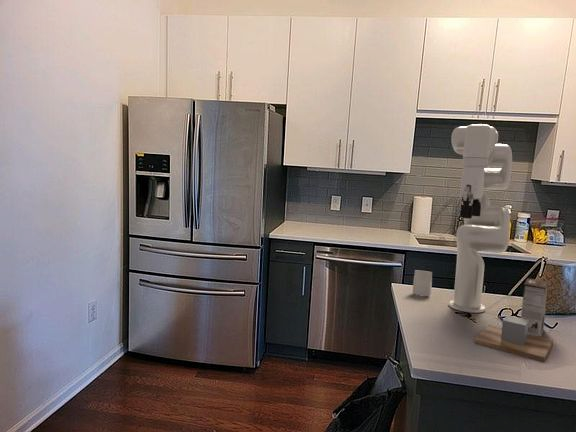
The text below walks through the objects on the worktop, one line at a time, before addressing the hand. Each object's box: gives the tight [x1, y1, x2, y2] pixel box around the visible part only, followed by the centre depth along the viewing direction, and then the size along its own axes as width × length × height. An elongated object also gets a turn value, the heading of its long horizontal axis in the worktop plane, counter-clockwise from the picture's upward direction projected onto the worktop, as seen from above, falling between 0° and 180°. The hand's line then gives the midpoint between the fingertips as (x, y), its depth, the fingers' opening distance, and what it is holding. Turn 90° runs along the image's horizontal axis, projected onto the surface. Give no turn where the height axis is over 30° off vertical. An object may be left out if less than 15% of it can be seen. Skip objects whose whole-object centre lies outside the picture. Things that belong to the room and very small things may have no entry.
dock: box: [474, 324, 554, 362], centre depth 128 cm, size 16×18×5 cm
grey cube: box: [501, 314, 529, 345], centre depth 127 cm, size 6×6×6 cm
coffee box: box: [520, 278, 549, 337], centre depth 138 cm, size 9×6×16 cm
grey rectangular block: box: [412, 269, 433, 298], centre depth 175 cm, size 4×7×10 cm, turn 63°
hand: (470, 217), depth 138 cm, fingers open, 9 cm apart
